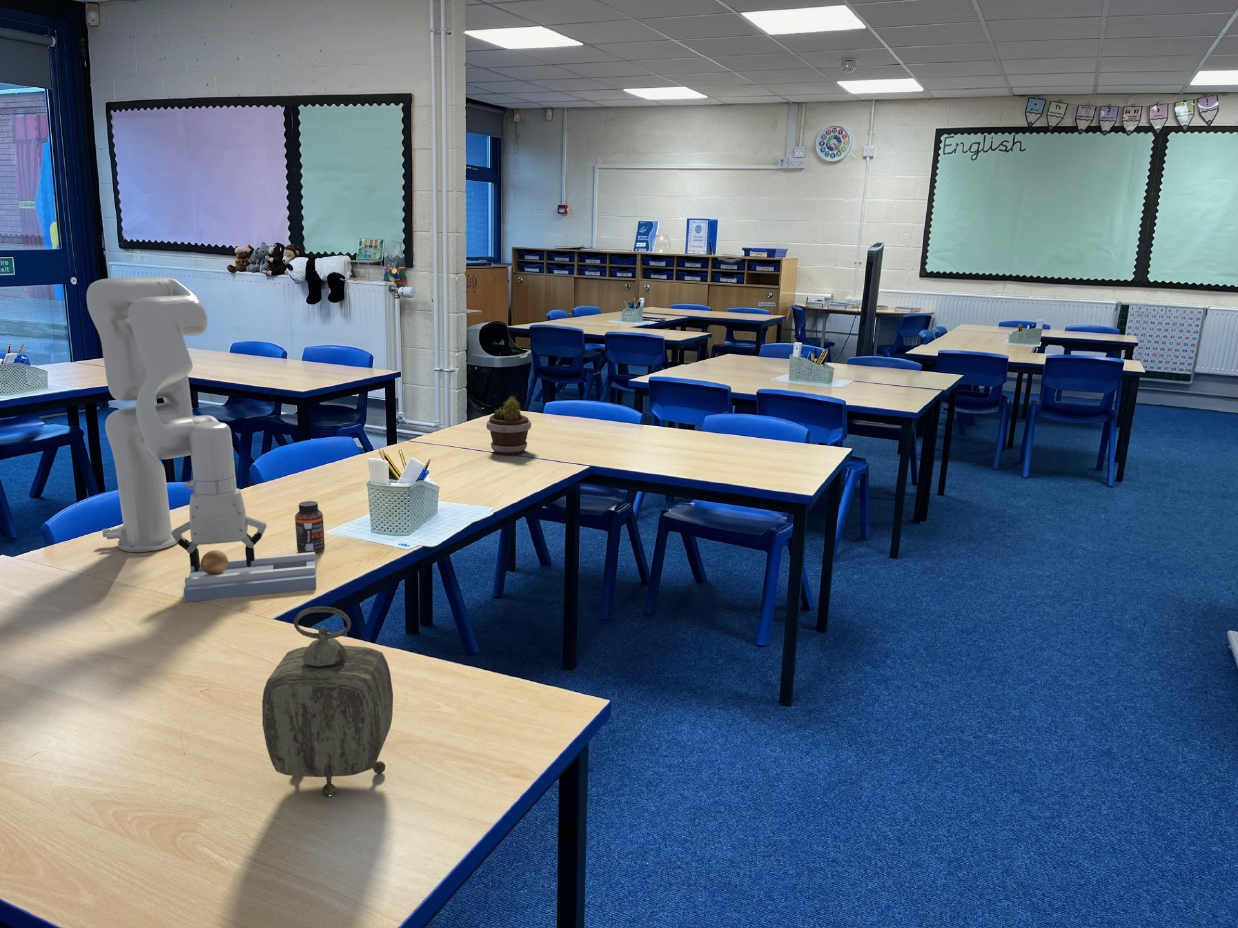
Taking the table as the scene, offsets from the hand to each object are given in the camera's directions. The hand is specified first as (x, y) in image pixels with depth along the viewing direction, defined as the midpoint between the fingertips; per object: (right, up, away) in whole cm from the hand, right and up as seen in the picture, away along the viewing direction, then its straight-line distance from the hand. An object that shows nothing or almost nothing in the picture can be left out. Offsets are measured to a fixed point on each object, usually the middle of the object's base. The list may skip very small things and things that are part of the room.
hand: (223, 566), depth 176 cm
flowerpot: (+43, +25, +114) cm, 125 cm away
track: (+5, -3, +3) cm, 7 cm away
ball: (-1, +1, -1) cm, 2 cm away
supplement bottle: (+10, +1, +21) cm, 23 cm away
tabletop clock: (+43, -21, -62) cm, 79 cm away
